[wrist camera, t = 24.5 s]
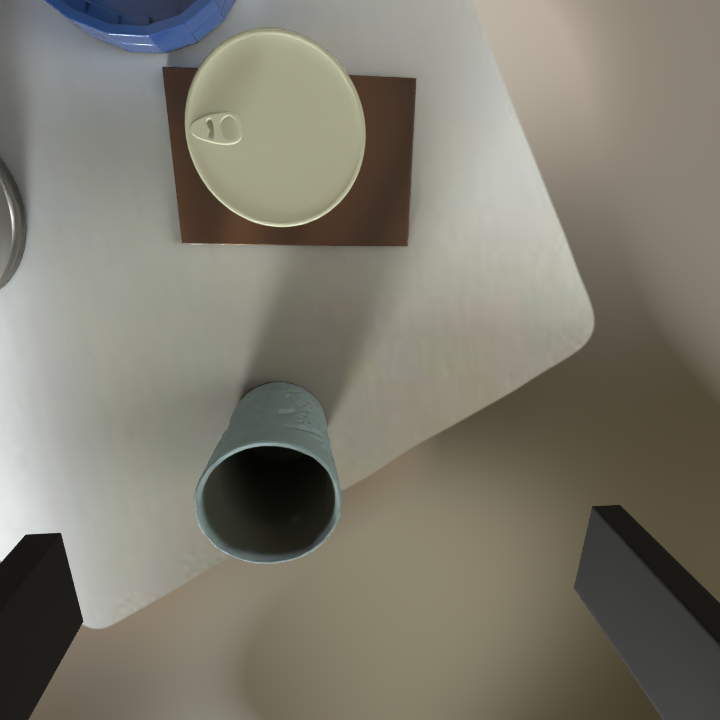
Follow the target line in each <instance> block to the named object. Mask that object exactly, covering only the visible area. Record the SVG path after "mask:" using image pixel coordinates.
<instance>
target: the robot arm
mask: <svg viewBox="0 0 720 720" xmlns="http://www.w3.org/2000/svg"><path fill="white" fill-rule="evenodd" d="M26 229H27V228H26V217H25V211H24V206H23V202H22V199H21V196H20V193H19V190H18V188H17V185H16V183H15V181H14V179H13V177H12V175H11V173H10V171H9V170H8V168H7V166H6V165H5V163H4V162H3V160H2V159H1V157H0V289H1V288H2V287H4V286H5V284H6V283H7V282H8V281H9V280H10V279H11V278H12V276H13V275H14V273H15V272H16V270H17V268H18V266H19V264H20V262H21V259H22V257H23V253H24V249H25V243H26ZM574 589H575V590H576V592H577V593H578V595H579V596H580V598H581V599H582V601H583V602H584V603H585V605H586V607H587V608H588V610H589V611H590V613H591V614H592V616H593V617H594V618H595V620H596V621H597V623H598V624H599V626H600V627H601V629H602V630H603V632H604V633H605V635H606V636H607V638H608V639H609V641H610V642H611V643H612V645H613V646H614V648H615V649H616V651H617V652H618V654H619V655H620V657H621V658H622V660H623V661H624V663H625V664H626V666H627V667H628V669H629V670H630V672H631V673H632V675H633V676H634V678H635V679H636V681H637V682H638V684H639V685H640V686H641V688H642V689H643V691H644V692H645V694H646V695H647V697H648V698H649V700H650V701H651V703H652V704H653V706H654V707H655V708H656V710H657V712H658V713H659V715H660V716H661V717H662V719H663V720H720V603H719V602H718V601H717V600H716V599H715V598H714V597H713V596H712V595H711V594H710V593H709V592H708V591H707V590H706V589H705V588H704V587H703V586H702V585H701V584H700V583H699V582H698V581H697V580H696V579H695V578H694V577H693V576H692V575H691V574H690V573H689V572H688V571H687V570H686V569H684V568H683V567H682V566H681V565H680V564H679V563H678V562H677V561H676V560H675V559H674V558H673V557H672V556H671V555H670V554H669V553H668V552H667V551H666V550H665V549H664V548H663V547H662V546H661V545H660V544H659V543H658V542H657V541H656V540H655V539H654V538H653V537H652V536H651V535H650V534H649V533H648V532H647V531H646V530H644V528H643V527H642V526H641V525H640V524H639V523H638V522H637V521H635V519H634V518H633V517H632V516H631V515H630V514H628V512H627V511H626V510H624V509H623V508H622V507H621V506H620V505H610V506H593V507H592V510H591V515H590V519H589V524H588V528H587V532H586V537H585V541H584V546H583V550H582V554H581V559H580V563H579V568H578V572H577V576H576V581H575V585H574ZM82 623H83V618H82V614H81V610H80V606H79V602H78V599H77V595H76V591H75V587H74V583H73V579H72V575H71V571H70V567H69V563H68V559H67V555H66V551H65V547H64V543H63V539H62V535H61V533H49V534H29V535H25V536H24V537H23V538H22V540H21V541H20V542H19V543H18V544H17V545H16V546H15V547H14V549H13V550H12V551H11V552H10V553H9V554H8V555H7V557H6V558H5V559H4V560H3V561H2V562H1V563H0V720H28V719H29V718H30V716H31V714H32V712H33V710H34V709H35V706H36V705H37V703H38V701H39V700H40V698H41V696H42V694H43V692H44V691H45V689H46V687H47V685H48V683H49V682H50V680H51V678H52V676H53V675H54V673H55V671H56V669H57V667H58V666H59V664H60V662H61V660H62V659H63V657H64V655H65V653H66V651H67V650H68V648H69V646H70V644H71V642H72V641H73V639H74V637H75V635H76V634H77V632H78V630H79V628H80V626H81V625H82Z"/></svg>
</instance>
